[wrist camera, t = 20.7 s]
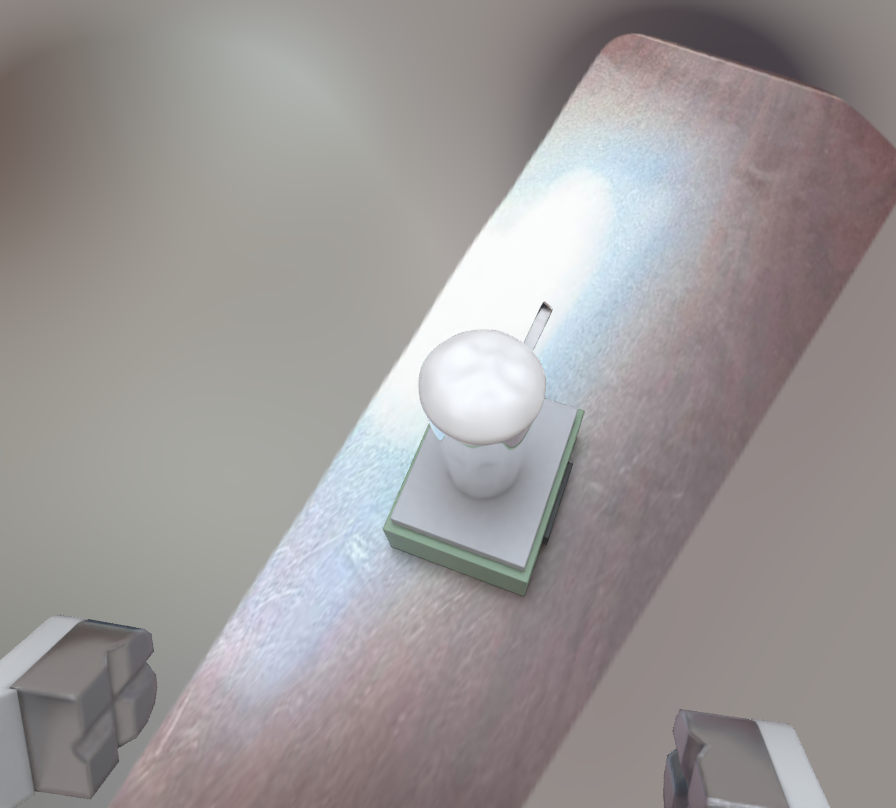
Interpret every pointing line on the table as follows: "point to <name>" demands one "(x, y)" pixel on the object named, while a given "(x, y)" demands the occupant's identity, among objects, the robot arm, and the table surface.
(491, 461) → the milkshake
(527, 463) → the scale
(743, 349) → the table surface
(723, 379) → the table surface
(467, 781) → the table surface
